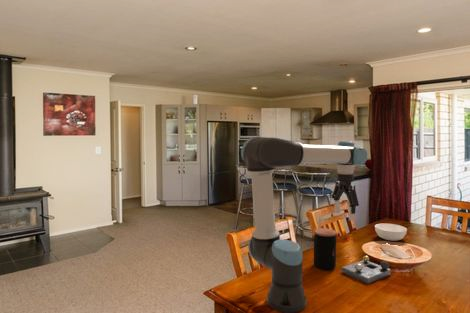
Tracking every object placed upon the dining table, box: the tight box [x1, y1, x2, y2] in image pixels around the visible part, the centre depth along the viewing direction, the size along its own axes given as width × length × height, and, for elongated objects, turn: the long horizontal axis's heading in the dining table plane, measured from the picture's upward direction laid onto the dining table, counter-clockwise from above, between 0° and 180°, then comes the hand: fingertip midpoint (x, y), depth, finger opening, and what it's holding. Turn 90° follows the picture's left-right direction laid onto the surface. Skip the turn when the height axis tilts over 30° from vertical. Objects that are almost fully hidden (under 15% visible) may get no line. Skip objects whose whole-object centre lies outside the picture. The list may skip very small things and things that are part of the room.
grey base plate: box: [341, 259, 392, 285], centre depth 154 cm, size 17×14×2 cm
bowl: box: [374, 222, 408, 242], centre depth 205 cm, size 18×18×7 cm
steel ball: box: [355, 264, 363, 271], centre depth 151 cm, size 3×3×3 cm
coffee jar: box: [313, 227, 338, 272], centre depth 161 cm, size 11×11×18 cm
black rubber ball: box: [379, 260, 390, 269], centre depth 153 cm, size 4×4×4 cm
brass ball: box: [362, 255, 370, 262], centre depth 162 cm, size 3×3×3 cm
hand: (344, 216), depth 159 cm, fingers open, 13 cm apart
